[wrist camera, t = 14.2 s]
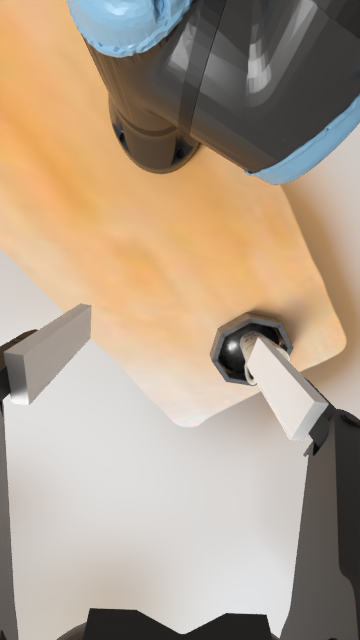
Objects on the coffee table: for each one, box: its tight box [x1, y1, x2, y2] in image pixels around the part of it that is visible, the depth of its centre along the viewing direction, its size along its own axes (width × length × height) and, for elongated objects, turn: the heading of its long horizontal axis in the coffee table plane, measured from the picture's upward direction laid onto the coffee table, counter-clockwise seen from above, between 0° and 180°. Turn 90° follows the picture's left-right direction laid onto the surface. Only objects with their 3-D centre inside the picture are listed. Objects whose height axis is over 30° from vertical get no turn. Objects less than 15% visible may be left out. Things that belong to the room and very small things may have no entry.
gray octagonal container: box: [210, 313, 293, 386], centre depth 47 cm, size 18×18×3 cm
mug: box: [240, 331, 290, 385], centre depth 43 cm, size 8×13×10 cm, turn 172°
